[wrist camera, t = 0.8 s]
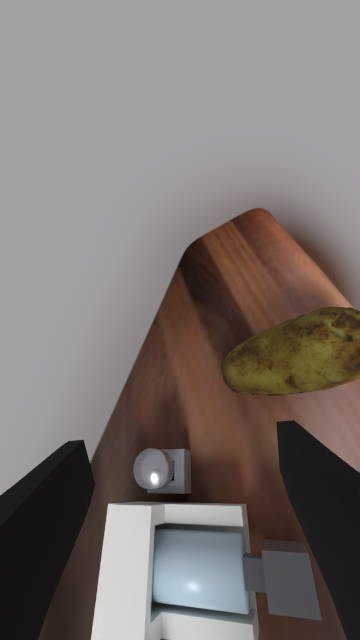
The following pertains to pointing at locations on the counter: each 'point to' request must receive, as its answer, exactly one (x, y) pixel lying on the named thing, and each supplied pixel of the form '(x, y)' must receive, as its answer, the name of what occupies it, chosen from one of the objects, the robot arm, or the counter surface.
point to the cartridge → (232, 573)
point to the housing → (137, 568)
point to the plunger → (153, 469)
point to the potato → (298, 355)
